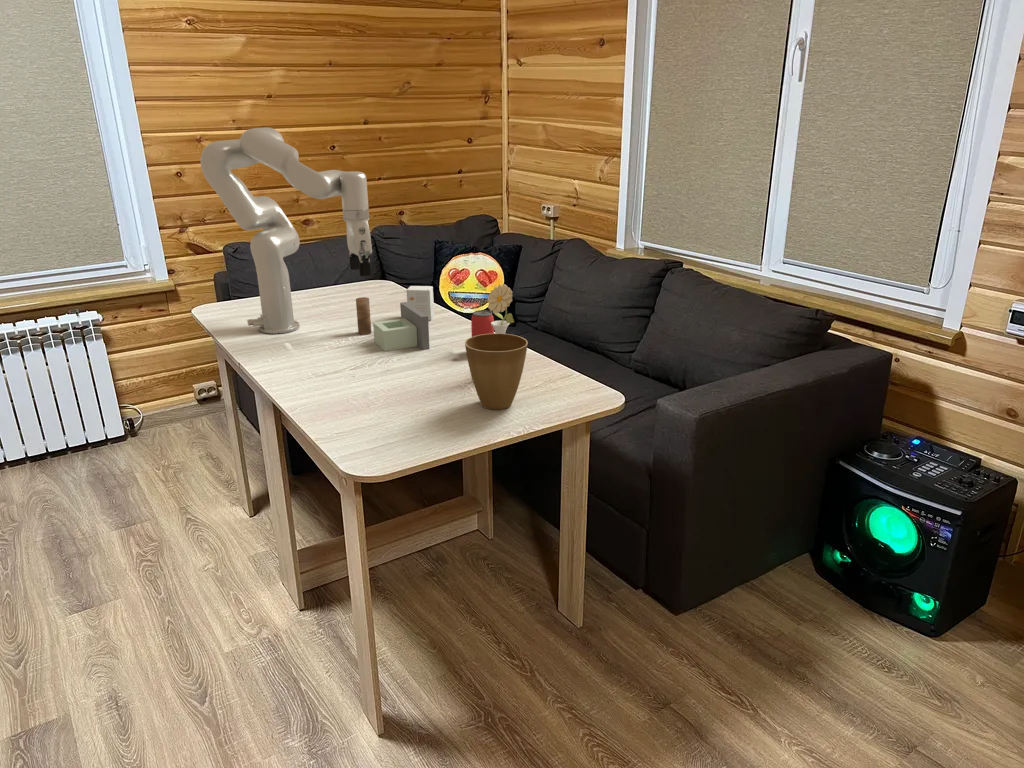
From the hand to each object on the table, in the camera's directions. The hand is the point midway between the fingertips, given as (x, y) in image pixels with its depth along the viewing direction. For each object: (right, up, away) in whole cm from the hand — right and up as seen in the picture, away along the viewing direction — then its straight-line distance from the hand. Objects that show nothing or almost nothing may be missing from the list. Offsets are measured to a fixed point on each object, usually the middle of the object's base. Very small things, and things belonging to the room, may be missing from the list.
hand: (360, 272), depth 227 cm
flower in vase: (+43, -31, -23) cm, 58 cm away
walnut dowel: (0, -19, +7) cm, 20 cm away
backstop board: (+8, -24, -5) cm, 25 cm away
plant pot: (+42, -39, -44) cm, 72 cm away
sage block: (+11, -22, -3) cm, 25 cm away
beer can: (+37, -25, -7) cm, 45 cm away
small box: (+15, -12, +26) cm, 33 cm away
